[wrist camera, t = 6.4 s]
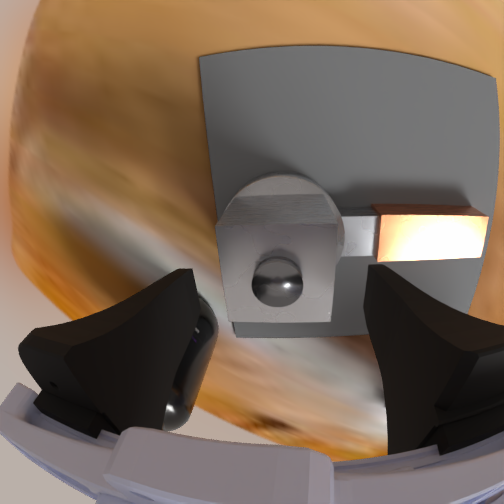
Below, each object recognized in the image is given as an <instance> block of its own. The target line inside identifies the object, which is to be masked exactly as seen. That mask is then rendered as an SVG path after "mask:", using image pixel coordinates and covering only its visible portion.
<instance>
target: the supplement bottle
mask: <svg viewBox="0 0 504 504" xmlns="http://www.w3.org/2000/svg"><path fill="white" fill-rule="evenodd" d="M198 298H199V302H200V306H201V310H200V314H199V318H198V322H197V325H196V328H195V330H194V333H193V335H192V337H191V340H190V342H189V344H188V346H187V349H186V351H185V353H184V355H183V358H182V360H181V362H180V364H179V367H178V369H177V372H176V374H175V378H174V381H173V384H172V388H171V391H170V395H169V399H168V403H167V407H166V411H165V416H164V421H163V426H162V431H166V432H168V431H173V430H176V429H178V428H180V427H181V426H183V425H184V424H185V423H186V422H187V421H188V419H189V417H190V415H191V413H192V410H193V407H194V404H195V401H196V399H197V396H198V393H199V390H200V387H201V384H202V381H203V378H204V376H205V373H206V370H207V367H208V364H209V361H210V359H211V356H212V353H213V350H214V347H215V344H216V341H217V337H218V322H217V319H216V317H215V315H214V313H213V311H212V310H211V308H210V307H209V306H208V305H207V304H206V303H205V302H204V301H203V300H202V299H201V298H200V297H198Z"/></svg>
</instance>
